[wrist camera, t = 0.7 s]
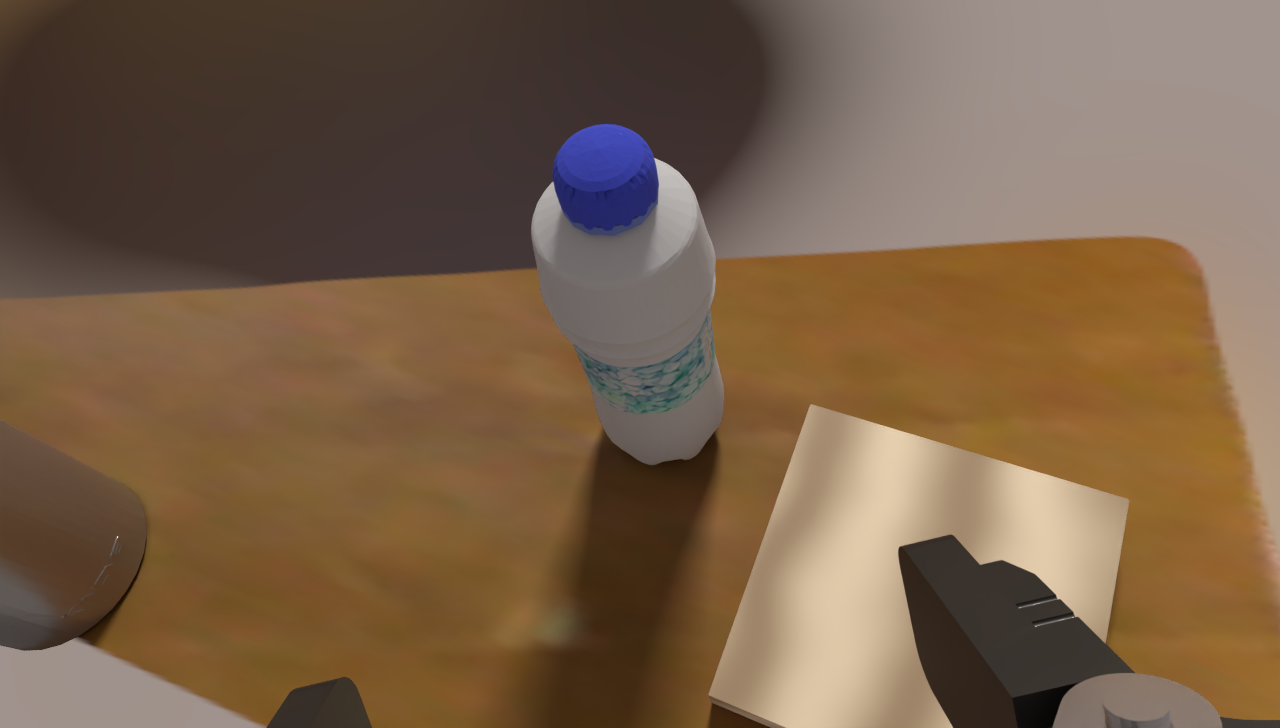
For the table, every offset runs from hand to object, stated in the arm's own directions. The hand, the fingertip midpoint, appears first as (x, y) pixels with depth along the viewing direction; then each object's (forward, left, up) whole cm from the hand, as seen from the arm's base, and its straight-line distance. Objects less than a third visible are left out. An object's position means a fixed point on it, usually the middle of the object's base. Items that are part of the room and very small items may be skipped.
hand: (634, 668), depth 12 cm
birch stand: (+6, +9, -27) cm, 29 cm away
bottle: (-8, +14, -27) cm, 32 cm away
